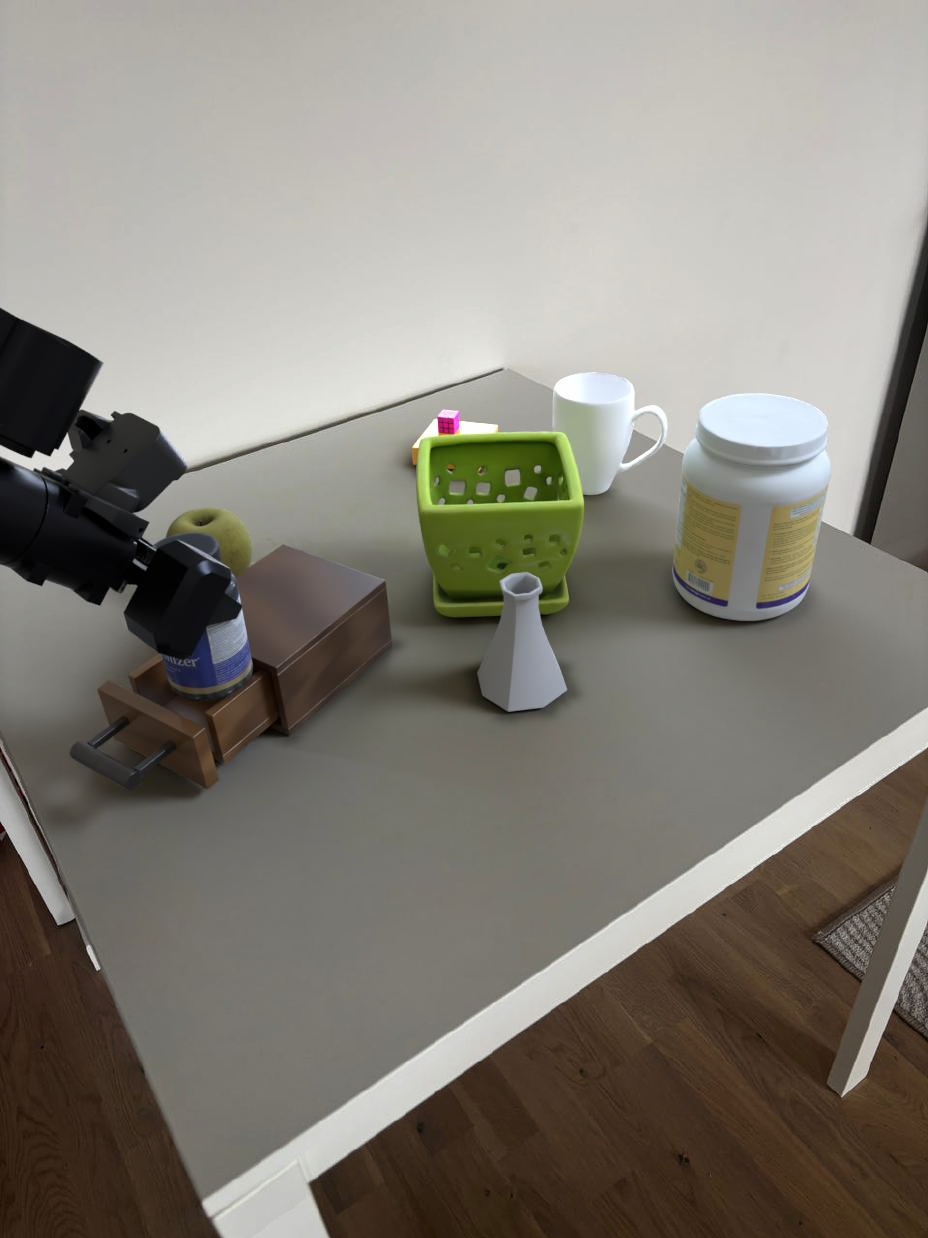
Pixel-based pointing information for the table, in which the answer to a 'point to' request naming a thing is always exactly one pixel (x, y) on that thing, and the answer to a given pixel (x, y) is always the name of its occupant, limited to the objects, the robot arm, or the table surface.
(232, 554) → the apple
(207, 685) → the pill bottle
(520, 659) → the flask
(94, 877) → the table surface
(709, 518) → the supplement tub
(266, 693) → the drawer
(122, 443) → the robot arm
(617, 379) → the mug
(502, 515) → the flower pot
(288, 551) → the cabinet
